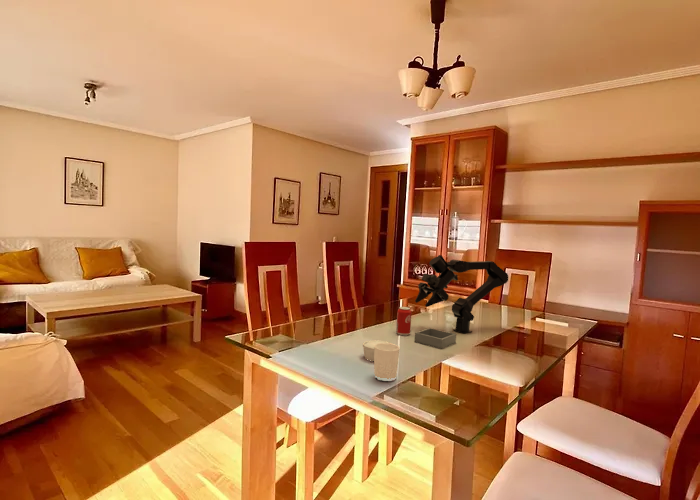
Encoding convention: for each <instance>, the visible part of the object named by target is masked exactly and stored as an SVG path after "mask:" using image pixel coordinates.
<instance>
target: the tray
mask: <svg viewBox="0 0 700 500" xmlns="http://www.w3.org/2000/svg"><path fill="white" fill-rule="evenodd" d="M456 341H457V334H456V333H453V332H449V331H444V330H440V329H436V328H433V327H428V328H425V329H423V330H419V331H416V332H414V343H416V344H421V345H424V346H429V347H432V348H435V349H439V350H443V349H446V348H448V347H451V346H452V345H455V344H457V343H456Z"/></svg>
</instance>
